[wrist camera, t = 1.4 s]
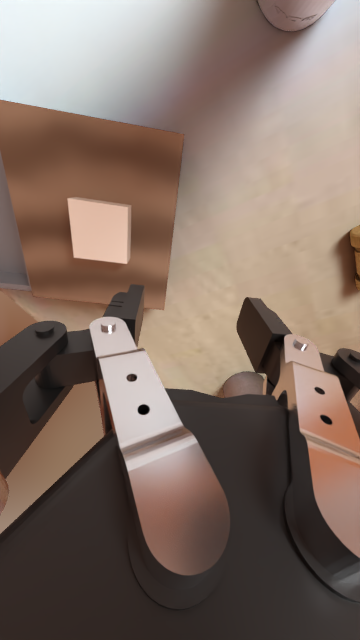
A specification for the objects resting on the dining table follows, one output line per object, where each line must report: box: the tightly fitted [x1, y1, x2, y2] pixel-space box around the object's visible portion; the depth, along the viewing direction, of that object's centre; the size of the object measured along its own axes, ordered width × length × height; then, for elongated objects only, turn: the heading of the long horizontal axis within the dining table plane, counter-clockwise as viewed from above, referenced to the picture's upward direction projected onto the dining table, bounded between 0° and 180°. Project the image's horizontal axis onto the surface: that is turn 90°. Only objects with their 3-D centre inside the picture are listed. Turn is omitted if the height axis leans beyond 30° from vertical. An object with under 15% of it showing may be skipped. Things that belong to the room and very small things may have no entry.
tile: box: [67, 197, 131, 264], centre depth 25 cm, size 6×6×2 cm
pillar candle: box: [223, 372, 264, 398], centre depth 44 cm, size 10×10×15 cm
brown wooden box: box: [0, 100, 184, 310], centre depth 29 cm, size 20×18×6 cm
